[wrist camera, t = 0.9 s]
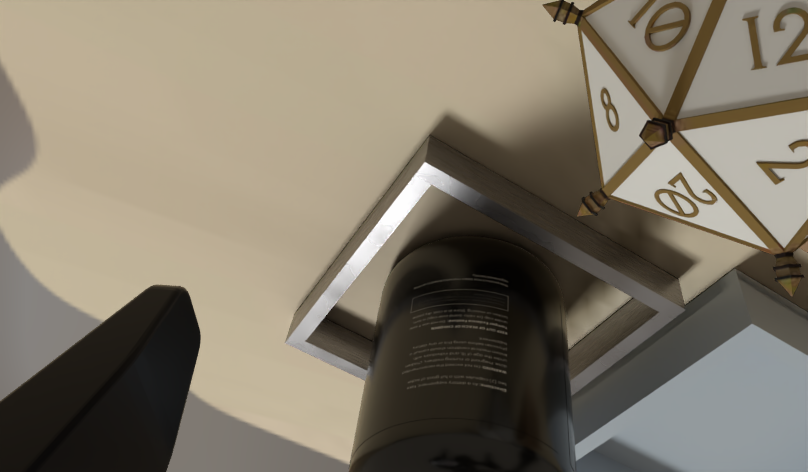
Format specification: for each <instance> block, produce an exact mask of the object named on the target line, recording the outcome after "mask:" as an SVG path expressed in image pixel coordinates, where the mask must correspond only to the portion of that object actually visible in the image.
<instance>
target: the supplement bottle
mask: <svg viewBox="0 0 808 472" xmlns="http://www.w3.org/2000/svg"><path fill="white" fill-rule="evenodd" d="M349 472H577V470H576V455H575V441H574V426H573V412H572V397H571V383H570V368H569V354H568V340H567V325H566V315H565V305H564V299H563V294H562V291H561V288H560V286H559V284H558V282H557V280H556V278H555V277H554V275H553V274H552V272H551V271H550V270H549V269H548V268H547V267H546V266H545V265H544V264H543V263H542V262H541V261H540V260H539V259H538V258H536V257H535V256H534V255H532V254H531V253H529V252H527V251H526V250H524V249H522V248H520V247H518V246H516V245H513V244H511V243H508V242H505V241H502V240H498V239H493V238H488V237H479V236H458V237H450V238H445V239H441V240H437V241H434V242H431V243H428V244H426V245H424V246H422V247H419V248H417V249H416V250H414V251H412V252H411V253H410V254H408V255H407V256H406V257H404V258H403V259H402V260H401V261H400V262H399V263H398V264H397V265H396V266H395V267H394V269H393V270H392V272H391V273H390V275H389V276H388V278H387V281H386V283H385V286H384V289H383V293H382V297H381V302H380V307H379V311H378V316H377V322H376V327H375V332H374V338H373V343H372V348H371V354H370V359H369V364H368V370H367V375H366V380H365V385H364V391H363V396H362V401H361V407H360V412H359V417H358V423H357V428H356V433H355V439H354V444H353V449H352V455H351V460H350V466H349Z"/></svg>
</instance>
